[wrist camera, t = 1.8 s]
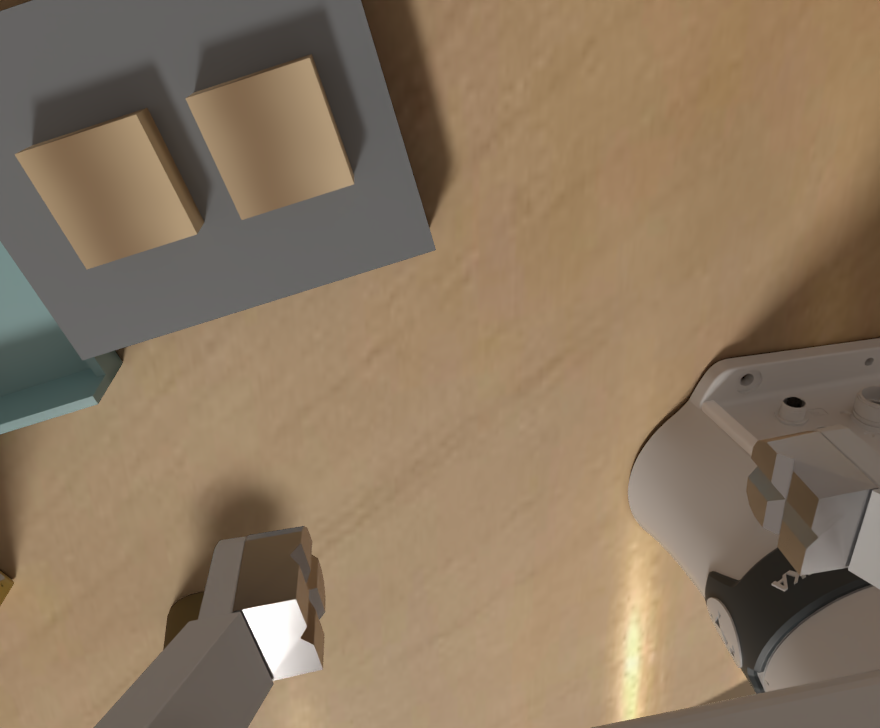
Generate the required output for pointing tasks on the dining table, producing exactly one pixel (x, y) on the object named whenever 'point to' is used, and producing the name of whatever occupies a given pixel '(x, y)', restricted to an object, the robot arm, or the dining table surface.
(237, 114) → the oak tile
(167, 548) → the dining table surface
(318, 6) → the slate board
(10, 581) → the candy box
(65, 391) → the tray
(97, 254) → the oak tile
